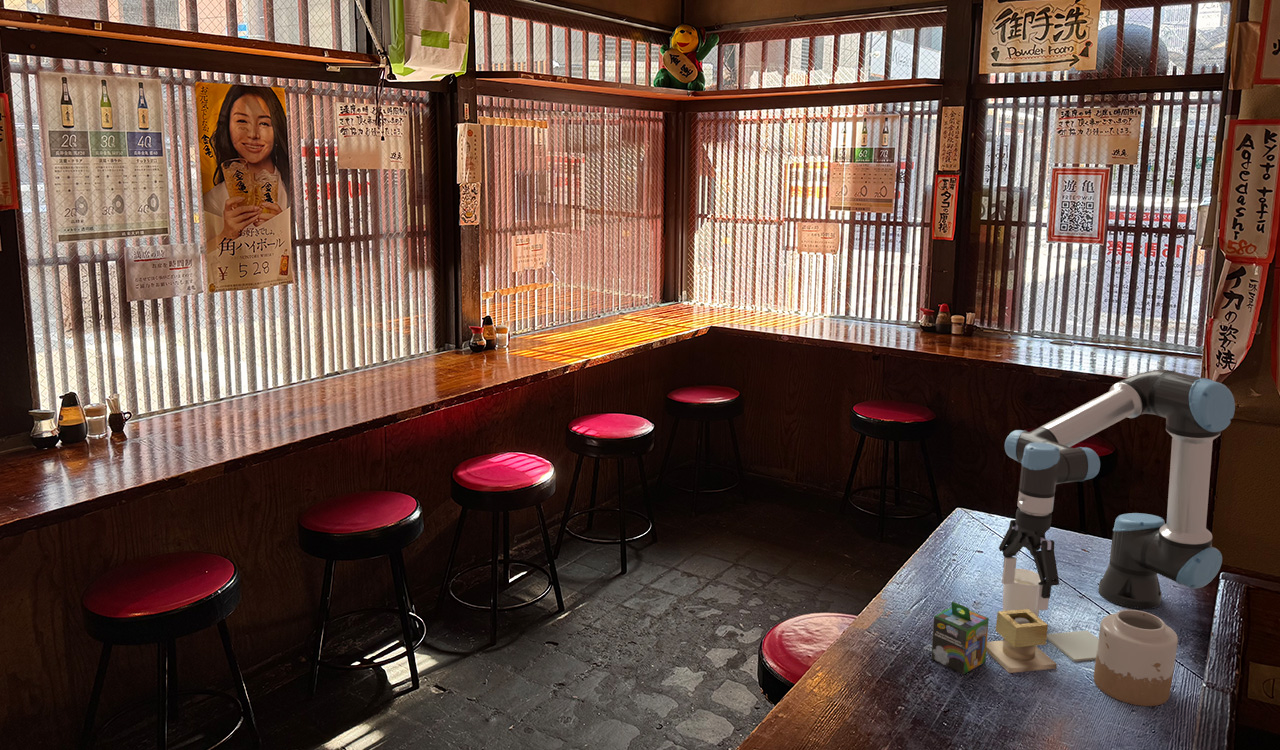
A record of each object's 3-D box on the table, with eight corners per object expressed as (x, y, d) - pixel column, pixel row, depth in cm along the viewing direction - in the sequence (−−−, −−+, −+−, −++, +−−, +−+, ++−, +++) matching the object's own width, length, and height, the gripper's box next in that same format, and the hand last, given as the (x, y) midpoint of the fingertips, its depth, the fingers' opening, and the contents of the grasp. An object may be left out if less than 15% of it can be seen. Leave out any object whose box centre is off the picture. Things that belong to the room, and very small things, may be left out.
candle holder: (1043, 630, 235) (1049, 586, 232) (1002, 626, 237) (1007, 583, 234) (1035, 612, 244) (1040, 570, 242) (996, 609, 246) (1000, 566, 243)
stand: (1026, 642, 229) (1030, 607, 227) (1056, 668, 218) (1060, 631, 216) (981, 646, 227) (985, 610, 225) (1009, 673, 216) (1013, 635, 213)
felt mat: (1087, 632, 234) (1087, 630, 234) (1119, 657, 223) (1119, 655, 223) (1043, 636, 232) (1044, 634, 232) (1074, 661, 221) (1074, 659, 221)
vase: (1081, 668, 218) (1090, 602, 214) (1148, 670, 217) (1158, 604, 214) (1111, 706, 203) (1121, 636, 199) (1183, 708, 202) (1194, 637, 199)
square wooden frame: (1025, 627, 226) (1028, 608, 225) (1045, 644, 218) (1047, 625, 217) (995, 630, 224) (997, 611, 223) (1014, 647, 217) (1016, 627, 215)
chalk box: (986, 663, 220) (992, 605, 216) (963, 675, 214) (969, 616, 211) (952, 647, 227) (957, 590, 224) (929, 658, 221) (934, 601, 218)
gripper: (989, 492, 225) (981, 573, 230) (1052, 532, 201) (1041, 622, 206) (1018, 490, 226) (1008, 572, 231) (1083, 530, 203) (1071, 620, 207)
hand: (1023, 596), depth 219 cm, fingers open, 13 cm apart
